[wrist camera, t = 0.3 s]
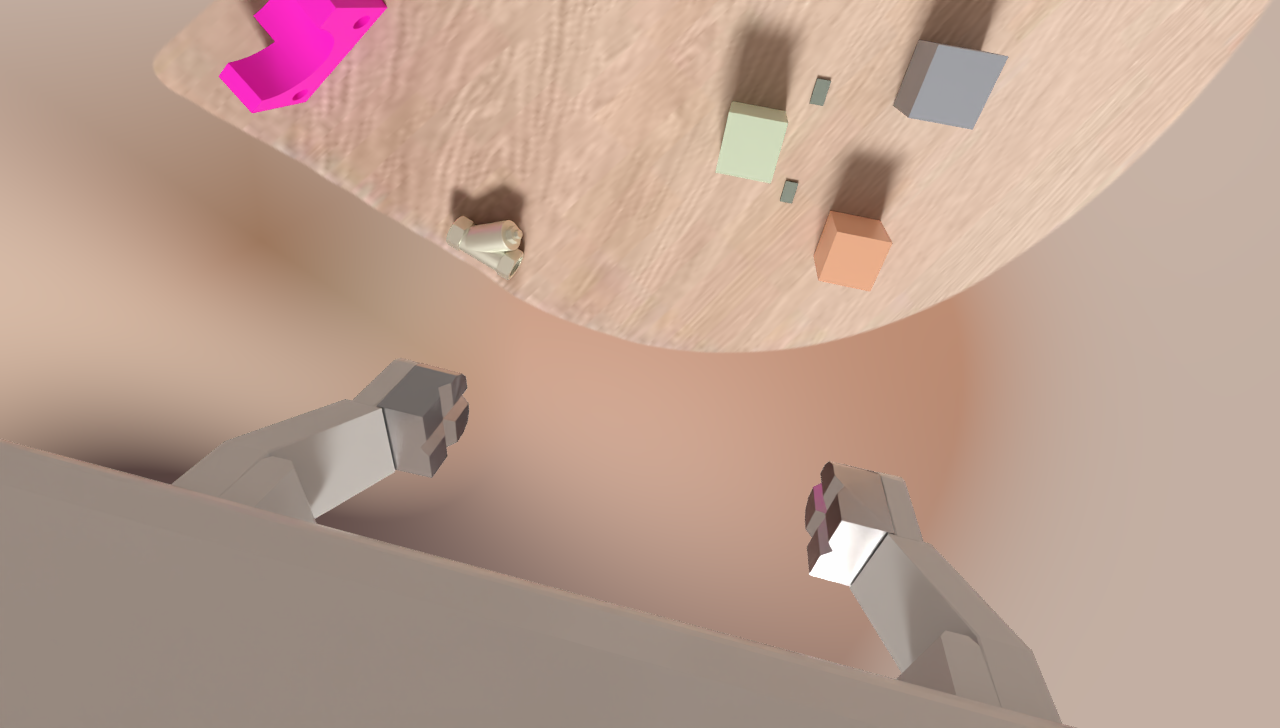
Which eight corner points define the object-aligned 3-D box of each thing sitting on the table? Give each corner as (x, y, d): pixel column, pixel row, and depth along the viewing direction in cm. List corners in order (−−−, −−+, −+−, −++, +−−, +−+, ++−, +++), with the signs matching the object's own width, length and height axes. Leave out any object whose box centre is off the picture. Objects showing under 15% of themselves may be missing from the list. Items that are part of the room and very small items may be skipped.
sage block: (732, 100, 48) (728, 111, 43) (785, 110, 47) (788, 123, 43) (719, 156, 51) (715, 172, 46) (769, 166, 50) (770, 183, 46)
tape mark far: (786, 180, 51) (786, 181, 51) (798, 183, 51) (798, 183, 51) (780, 200, 52) (780, 201, 52) (791, 202, 52) (791, 203, 52)
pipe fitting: (519, 245, 55) (504, 285, 60) (535, 227, 58) (520, 267, 63) (452, 204, 54) (443, 249, 59) (471, 187, 57) (461, 231, 62)
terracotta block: (830, 210, 52) (837, 231, 47) (880, 220, 51) (892, 242, 46) (813, 255, 55) (818, 280, 50) (860, 265, 54) (870, 291, 49)
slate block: (918, 39, 43) (938, 44, 38) (980, 50, 42) (1008, 56, 37) (892, 105, 46) (908, 117, 41) (950, 116, 45) (972, 129, 40)
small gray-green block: (817, 78, 45) (817, 78, 45) (830, 80, 45) (830, 81, 45) (809, 103, 47) (809, 103, 46) (822, 105, 47) (822, 105, 46)
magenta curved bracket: (337, -62, 47) (274, -72, 41) (388, 7, 49) (336, 8, 43) (259, 45, 53) (195, 50, 47) (307, 101, 56) (252, 113, 50)
